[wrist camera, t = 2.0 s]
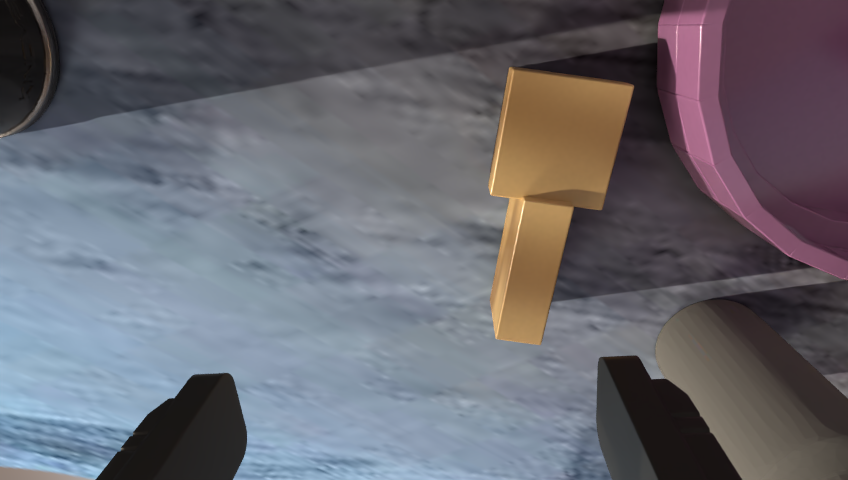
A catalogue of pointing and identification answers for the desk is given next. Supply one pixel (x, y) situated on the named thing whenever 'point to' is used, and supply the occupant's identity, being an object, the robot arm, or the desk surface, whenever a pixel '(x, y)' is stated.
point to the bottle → (756, 393)
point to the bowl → (763, 116)
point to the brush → (547, 183)
